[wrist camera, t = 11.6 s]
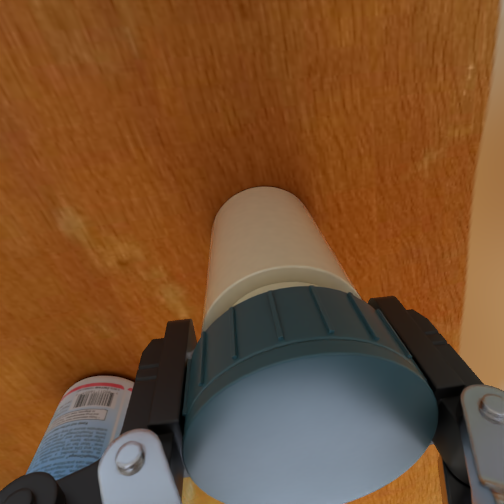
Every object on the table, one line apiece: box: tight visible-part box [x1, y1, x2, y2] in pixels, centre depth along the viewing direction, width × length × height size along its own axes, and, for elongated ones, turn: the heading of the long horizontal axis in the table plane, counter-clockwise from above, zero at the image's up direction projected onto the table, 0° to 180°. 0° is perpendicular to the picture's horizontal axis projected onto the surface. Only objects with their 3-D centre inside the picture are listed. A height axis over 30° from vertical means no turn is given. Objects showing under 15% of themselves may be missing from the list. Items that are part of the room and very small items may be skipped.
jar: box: [202, 187, 362, 332], centre depth 14 cm, size 6×6×10 cm
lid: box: [182, 285, 438, 504], centre depth 8 cm, size 6×6×2 cm
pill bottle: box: [26, 376, 134, 480], centre depth 18 cm, size 6×6×11 cm
